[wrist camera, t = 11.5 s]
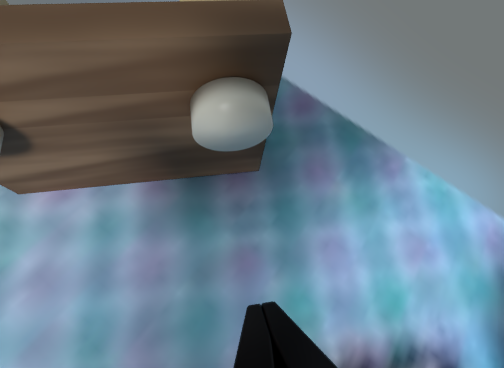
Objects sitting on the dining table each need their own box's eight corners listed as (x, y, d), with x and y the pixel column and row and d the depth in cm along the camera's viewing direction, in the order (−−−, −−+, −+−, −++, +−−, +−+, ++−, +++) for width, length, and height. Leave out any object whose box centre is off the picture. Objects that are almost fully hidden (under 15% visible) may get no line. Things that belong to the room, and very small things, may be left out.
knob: (267, 148, 16) (279, 102, 13) (196, 154, 16) (187, 109, 12) (246, 38, 20) (251, -23, 16) (187, 40, 19) (177, -23, 15)
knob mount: (258, 170, 24) (291, 33, 12) (18, 194, 21) (-250, 52, 9) (250, 119, 25) (270, -45, 13) (28, 136, 23) (-185, -45, 11)
